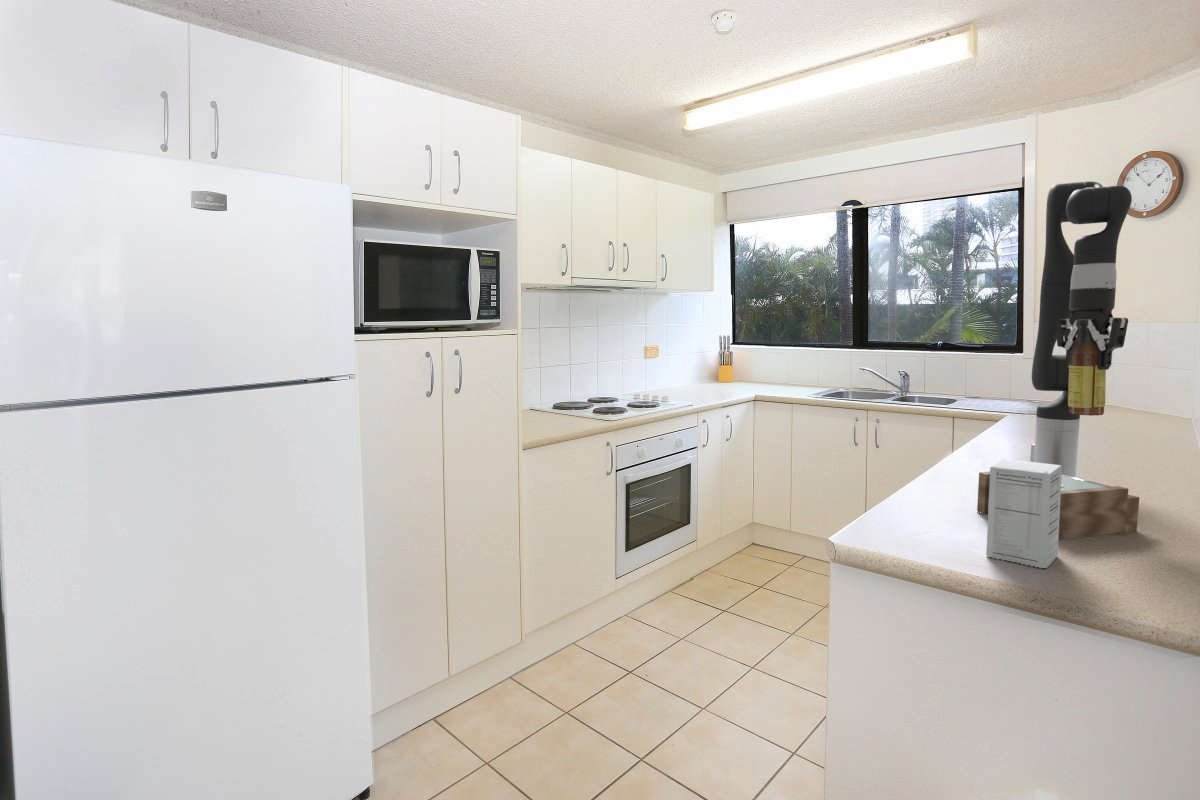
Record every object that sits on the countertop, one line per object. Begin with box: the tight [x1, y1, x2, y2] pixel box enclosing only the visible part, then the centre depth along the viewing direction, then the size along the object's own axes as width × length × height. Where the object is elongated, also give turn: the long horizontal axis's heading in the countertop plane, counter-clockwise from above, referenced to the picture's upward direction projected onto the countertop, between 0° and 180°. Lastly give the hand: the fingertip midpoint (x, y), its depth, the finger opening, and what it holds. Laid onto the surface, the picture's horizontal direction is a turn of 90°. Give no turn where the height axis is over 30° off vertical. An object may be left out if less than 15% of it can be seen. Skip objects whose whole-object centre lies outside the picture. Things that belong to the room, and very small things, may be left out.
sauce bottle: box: [1068, 319, 1107, 416], centre depth 137 cm, size 7×6×20 cm
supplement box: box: [986, 458, 1062, 569], centre depth 118 cm, size 10×9×17 cm
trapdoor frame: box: [976, 471, 1140, 540], centre depth 138 cm, size 20×19×9 cm
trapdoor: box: [1061, 474, 1113, 491], centre depth 138 cm, size 17×14×1 cm
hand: (1087, 368), depth 137 cm, fingers closed on sauce bottle, 6 cm apart
